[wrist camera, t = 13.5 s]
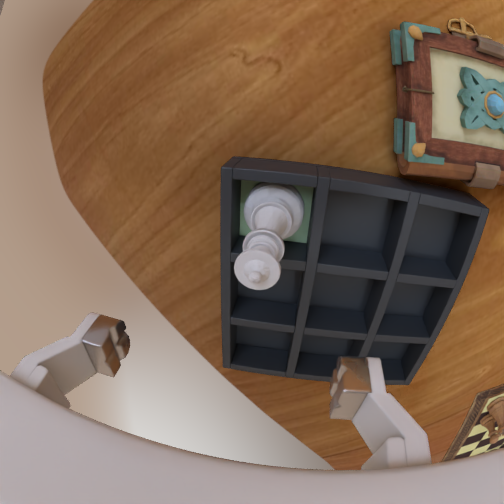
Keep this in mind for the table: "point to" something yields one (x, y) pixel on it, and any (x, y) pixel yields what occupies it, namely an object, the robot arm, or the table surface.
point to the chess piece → (267, 232)
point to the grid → (346, 270)
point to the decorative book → (449, 104)
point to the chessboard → (481, 426)
